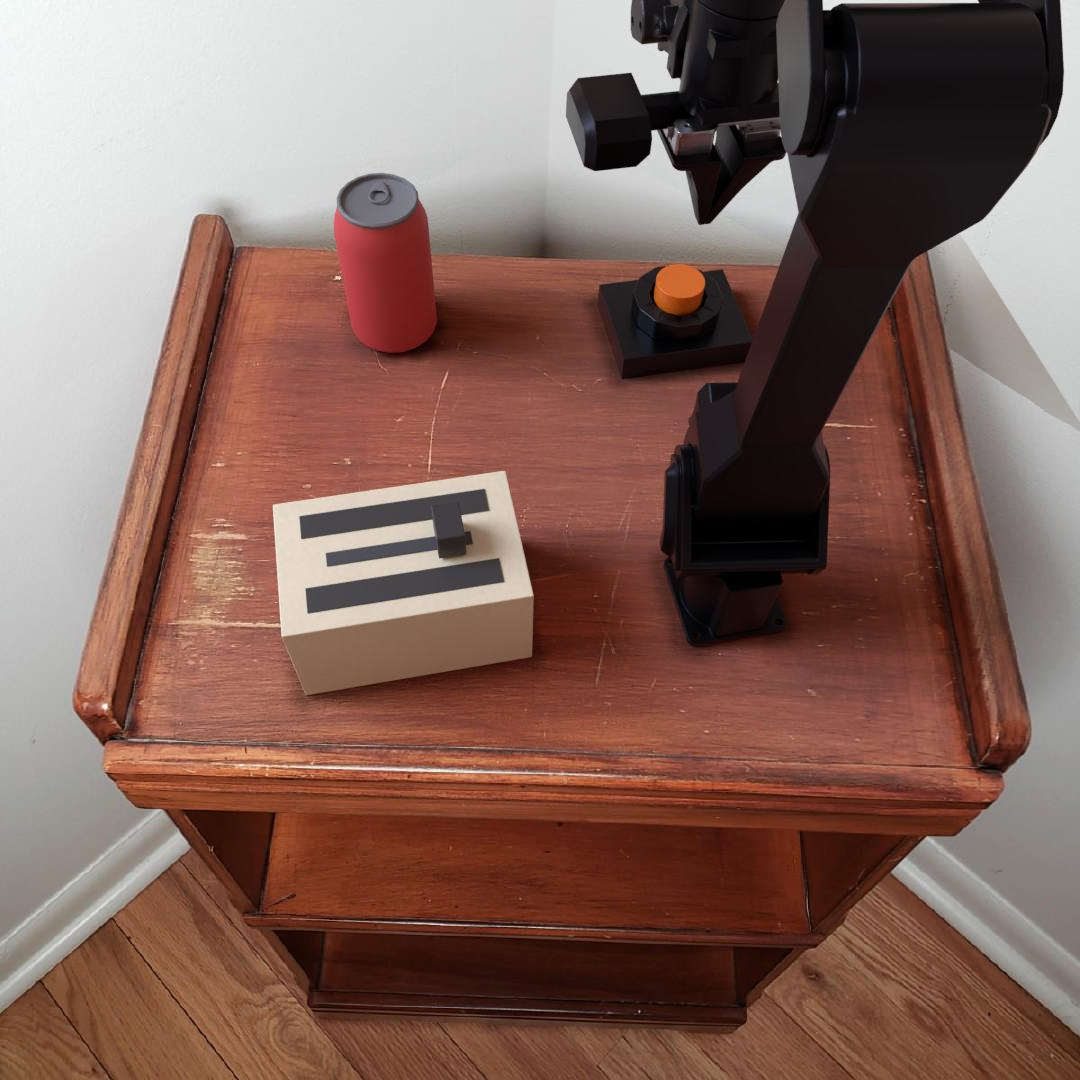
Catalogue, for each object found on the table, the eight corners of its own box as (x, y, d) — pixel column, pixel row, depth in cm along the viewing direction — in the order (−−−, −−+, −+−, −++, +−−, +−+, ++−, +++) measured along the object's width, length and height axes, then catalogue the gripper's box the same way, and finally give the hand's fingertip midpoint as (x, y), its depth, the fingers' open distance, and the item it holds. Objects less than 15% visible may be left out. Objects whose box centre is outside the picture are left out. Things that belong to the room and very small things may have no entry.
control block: (748, 362, 77) (759, 324, 74) (621, 379, 76) (626, 341, 73) (718, 290, 82) (726, 250, 78) (597, 305, 80) (600, 266, 77)
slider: (466, 554, 58) (465, 535, 56) (438, 559, 58) (436, 539, 56) (460, 520, 59) (458, 500, 58) (433, 524, 59) (430, 505, 57)
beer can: (440, 297, 80) (430, 168, 70) (434, 359, 77) (421, 231, 67) (357, 295, 80) (335, 165, 70) (347, 356, 77) (322, 228, 67)
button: (707, 312, 75) (711, 294, 74) (660, 318, 75) (663, 300, 73) (694, 279, 77) (697, 261, 76) (648, 285, 77) (650, 267, 75)
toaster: (532, 657, 63) (534, 595, 57) (305, 695, 61) (281, 636, 55) (506, 538, 68) (505, 469, 62) (295, 571, 66) (272, 503, 60)
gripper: (850, -92, 62) (792, 134, 75) (551, -67, 60) (545, 162, 73) (923, 7, 56) (846, 234, 69) (594, 39, 54) (579, 267, 67)
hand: (702, 220), depth 69 cm, fingers closed
